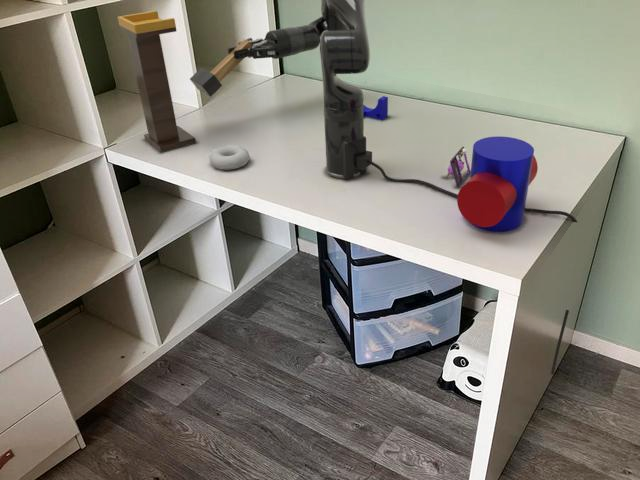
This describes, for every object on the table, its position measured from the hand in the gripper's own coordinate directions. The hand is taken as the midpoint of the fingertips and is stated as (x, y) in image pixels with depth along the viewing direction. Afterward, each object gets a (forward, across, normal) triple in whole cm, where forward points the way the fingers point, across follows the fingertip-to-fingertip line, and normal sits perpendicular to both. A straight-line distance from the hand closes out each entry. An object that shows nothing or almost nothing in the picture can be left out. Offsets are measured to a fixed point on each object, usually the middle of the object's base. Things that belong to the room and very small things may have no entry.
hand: (231, 53), depth 169 cm
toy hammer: (+2, 0, +4) cm, 4 cm away
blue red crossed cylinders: (-15, +84, +20) cm, 87 cm away
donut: (+16, +23, +20) cm, 34 cm away
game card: (-22, +65, +20) cm, 72 cm away
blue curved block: (-31, +19, +20) cm, 42 cm away
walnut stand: (+22, 0, +19) cm, 29 cm away
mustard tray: (+22, 0, -11) cm, 24 cm away
